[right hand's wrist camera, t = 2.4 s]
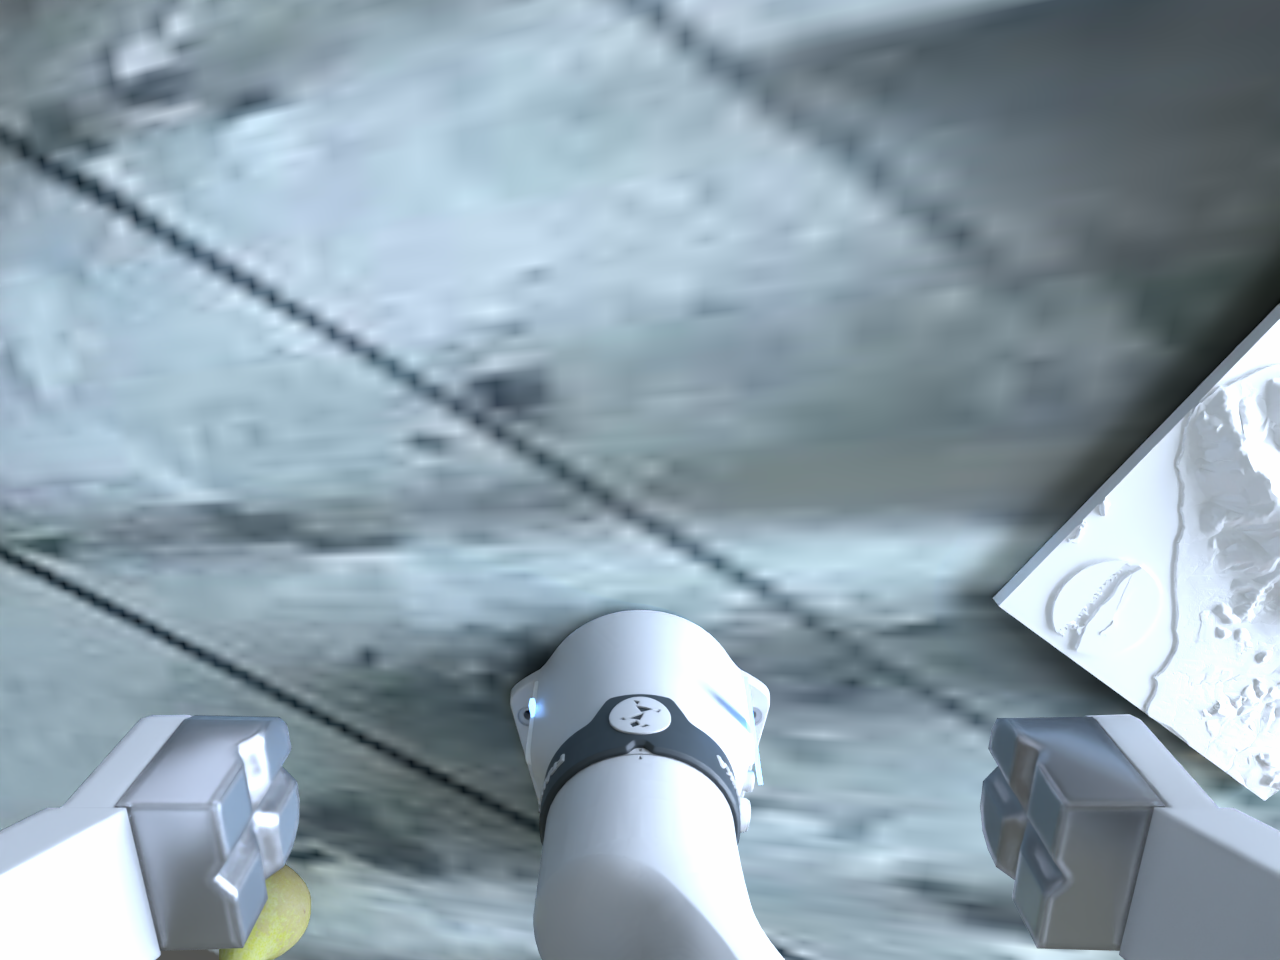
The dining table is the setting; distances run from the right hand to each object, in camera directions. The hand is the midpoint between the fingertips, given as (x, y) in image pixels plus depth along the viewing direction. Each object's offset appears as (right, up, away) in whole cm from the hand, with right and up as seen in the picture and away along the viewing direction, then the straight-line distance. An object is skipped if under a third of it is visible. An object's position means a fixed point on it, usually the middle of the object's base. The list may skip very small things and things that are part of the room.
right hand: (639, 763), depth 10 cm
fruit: (-28, -28, +61) cm, 73 cm away
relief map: (+46, +1, +51) cm, 69 cm away
